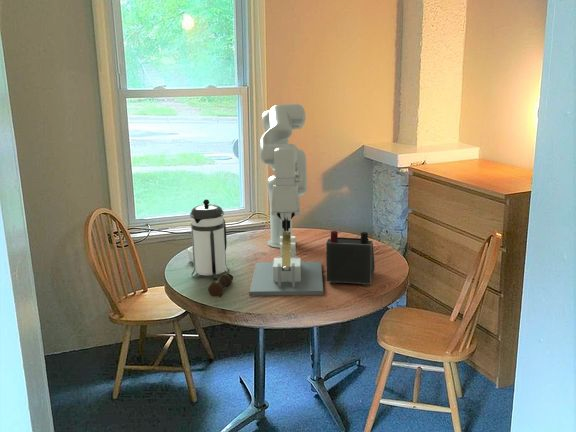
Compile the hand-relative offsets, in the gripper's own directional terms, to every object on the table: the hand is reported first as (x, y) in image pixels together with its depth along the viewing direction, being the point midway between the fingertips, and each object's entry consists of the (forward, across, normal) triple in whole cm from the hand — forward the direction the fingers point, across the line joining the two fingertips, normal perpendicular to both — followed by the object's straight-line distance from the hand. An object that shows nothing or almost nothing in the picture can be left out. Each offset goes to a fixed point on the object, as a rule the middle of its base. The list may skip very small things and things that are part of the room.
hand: (286, 230), depth 217 cm
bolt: (+20, +23, +9) cm, 32 cm away
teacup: (+19, +38, -23) cm, 49 cm away
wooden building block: (+12, 0, +4) cm, 13 cm away
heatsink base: (+19, 0, 0) cm, 19 cm away
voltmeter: (+20, -24, 0) cm, 31 cm away
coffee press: (+19, +30, -7) cm, 36 cm away
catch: (+18, 0, -10) cm, 20 cm away
